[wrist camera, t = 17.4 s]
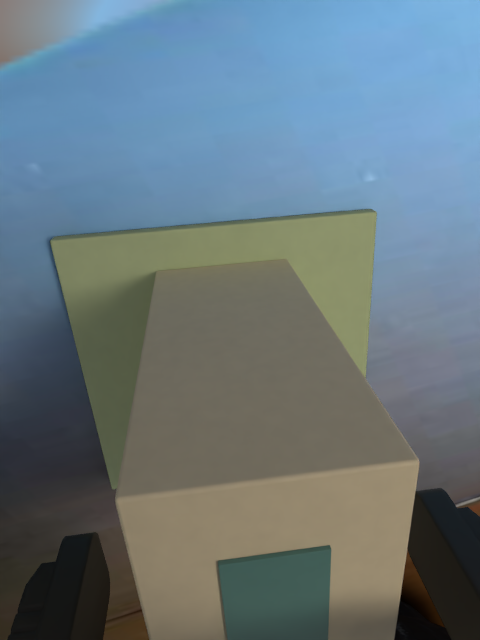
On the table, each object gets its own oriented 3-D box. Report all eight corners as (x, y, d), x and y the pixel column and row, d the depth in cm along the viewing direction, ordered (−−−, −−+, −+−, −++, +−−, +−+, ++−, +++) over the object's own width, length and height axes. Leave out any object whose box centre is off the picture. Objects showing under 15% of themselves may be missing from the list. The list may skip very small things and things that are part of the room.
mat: (53, 236, 17) (49, 240, 16) (371, 208, 17) (377, 211, 17) (113, 480, 22) (111, 490, 21) (356, 450, 23) (360, 458, 22)
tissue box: (183, 455, 21) (181, 776, 11) (155, 270, 17) (111, 505, 7) (290, 442, 21) (383, 741, 11) (287, 257, 17) (424, 464, 7)
